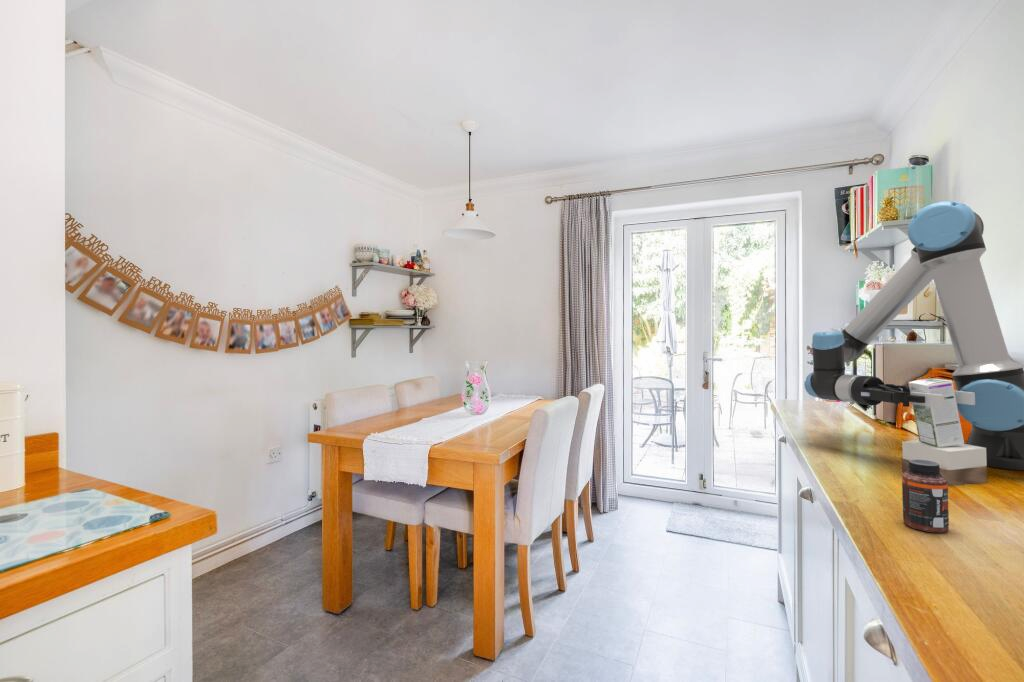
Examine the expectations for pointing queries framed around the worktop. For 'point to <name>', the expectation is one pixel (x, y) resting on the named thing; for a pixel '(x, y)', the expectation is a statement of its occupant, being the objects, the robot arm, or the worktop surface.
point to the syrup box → (937, 414)
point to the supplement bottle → (925, 497)
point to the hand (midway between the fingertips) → (958, 400)
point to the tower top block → (946, 454)
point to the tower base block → (958, 474)
